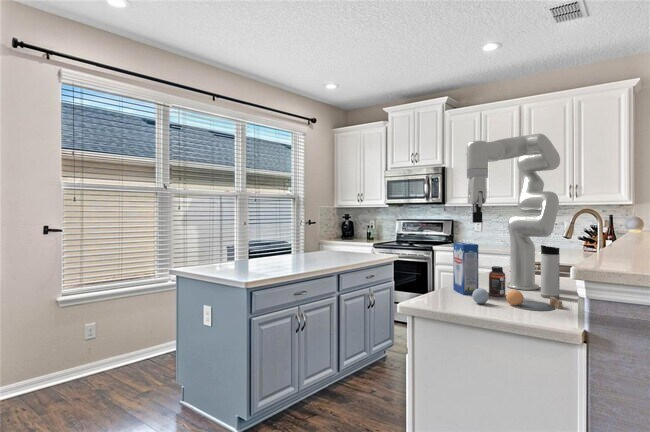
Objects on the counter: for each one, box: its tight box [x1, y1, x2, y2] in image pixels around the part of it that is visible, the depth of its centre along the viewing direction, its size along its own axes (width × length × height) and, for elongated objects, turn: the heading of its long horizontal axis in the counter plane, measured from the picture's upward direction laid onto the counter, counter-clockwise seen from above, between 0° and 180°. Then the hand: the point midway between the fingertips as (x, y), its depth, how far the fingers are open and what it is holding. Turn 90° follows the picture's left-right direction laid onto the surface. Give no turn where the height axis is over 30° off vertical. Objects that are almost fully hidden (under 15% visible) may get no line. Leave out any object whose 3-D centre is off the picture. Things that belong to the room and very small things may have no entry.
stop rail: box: [549, 297, 563, 310], centre depth 140 cm, size 7×1×2 cm, turn 172°
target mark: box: [511, 300, 556, 312], centre depth 141 cm, size 14×14×1 cm
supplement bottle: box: [488, 265, 506, 298], centre depth 158 cm, size 6×6×11 cm
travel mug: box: [540, 244, 561, 299], centre depth 154 cm, size 6×7×20 cm
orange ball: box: [505, 289, 524, 306], centre depth 142 cm, size 6×6×6 cm
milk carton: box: [452, 242, 479, 296], centre depth 165 cm, size 10×6×20 cm, turn 5°
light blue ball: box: [471, 287, 490, 305], centre depth 145 cm, size 6×6×6 cm
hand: (477, 222), depth 152 cm, fingers closed
